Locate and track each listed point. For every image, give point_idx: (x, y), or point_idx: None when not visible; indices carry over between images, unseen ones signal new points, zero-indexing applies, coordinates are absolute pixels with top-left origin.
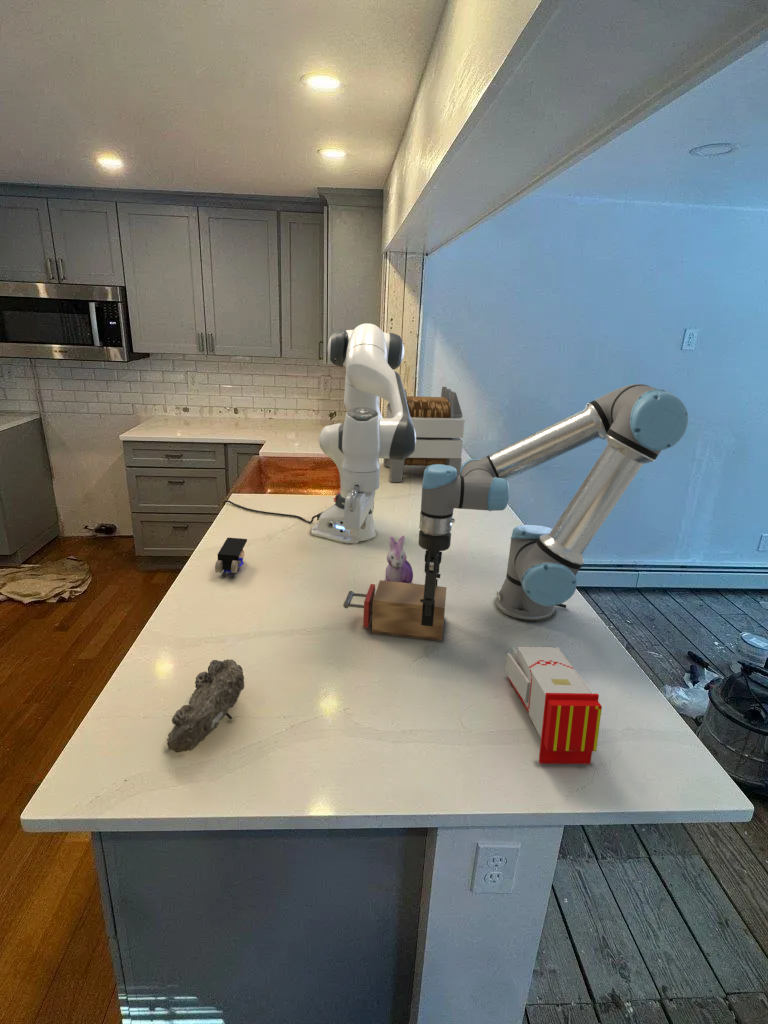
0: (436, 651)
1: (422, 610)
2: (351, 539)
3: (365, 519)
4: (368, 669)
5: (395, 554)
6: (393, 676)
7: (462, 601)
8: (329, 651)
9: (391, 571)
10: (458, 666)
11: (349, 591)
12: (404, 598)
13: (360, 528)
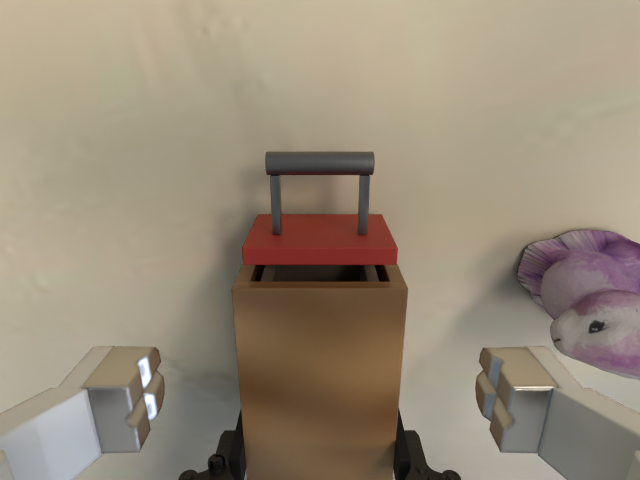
0: (214, 397)
1: (236, 429)
2: (81, 368)
3: (557, 461)
4: (77, 257)
5: (603, 350)
6: (74, 317)
7: (479, 442)
8: (116, 133)
9: (561, 292)
10: (170, 439)
11: (372, 156)
12: (275, 386)
13: (480, 360)
